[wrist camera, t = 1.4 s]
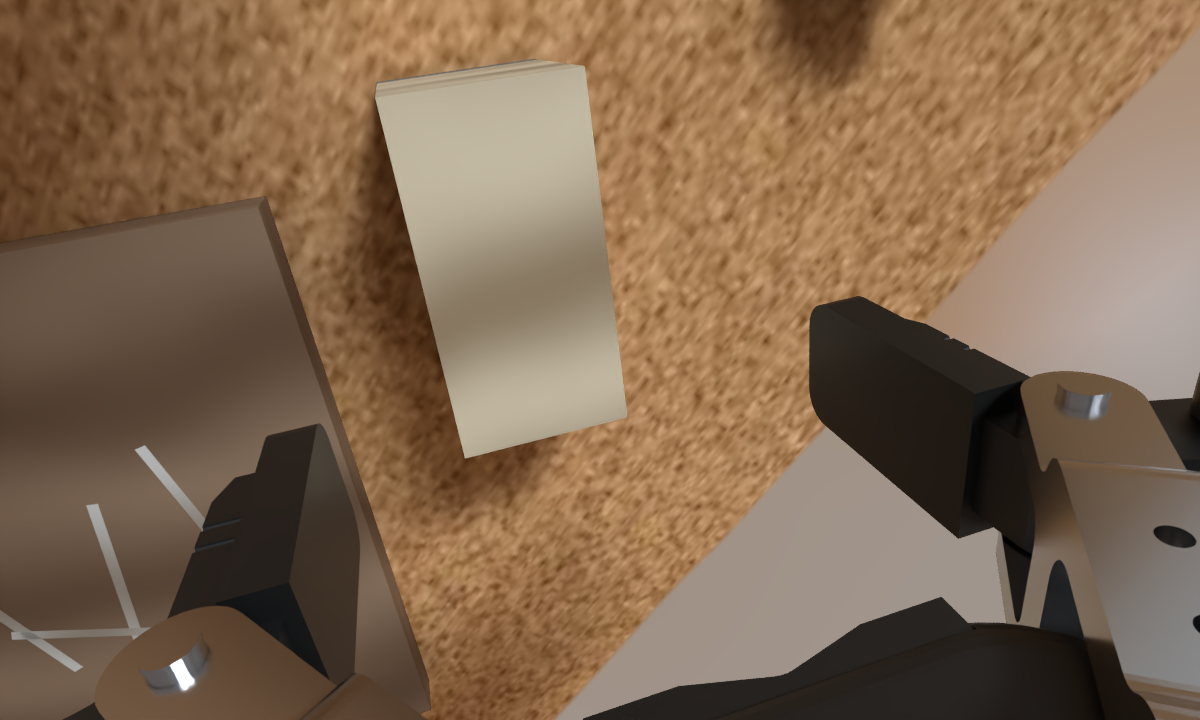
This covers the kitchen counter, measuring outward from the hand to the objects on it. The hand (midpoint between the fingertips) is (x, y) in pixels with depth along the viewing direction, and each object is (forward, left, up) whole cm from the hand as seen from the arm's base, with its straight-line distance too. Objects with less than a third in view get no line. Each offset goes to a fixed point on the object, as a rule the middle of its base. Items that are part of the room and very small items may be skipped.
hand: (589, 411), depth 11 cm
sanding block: (0, 0, -13) cm, 13 cm away
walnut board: (+8, -14, -12) cm, 20 cm away
